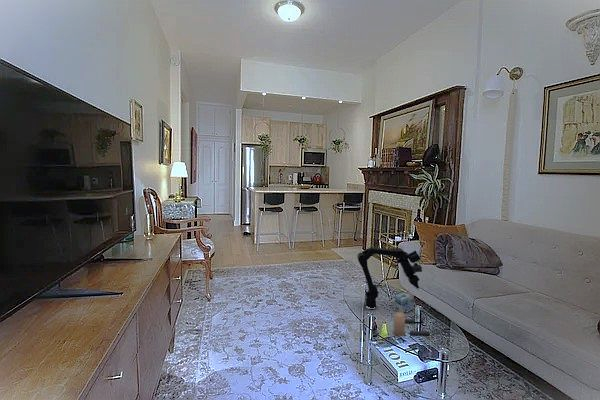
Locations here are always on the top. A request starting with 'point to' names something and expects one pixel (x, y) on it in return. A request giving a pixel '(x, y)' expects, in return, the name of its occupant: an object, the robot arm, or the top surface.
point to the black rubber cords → (416, 331)
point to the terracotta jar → (399, 323)
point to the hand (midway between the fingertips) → (416, 285)
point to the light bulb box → (404, 302)
